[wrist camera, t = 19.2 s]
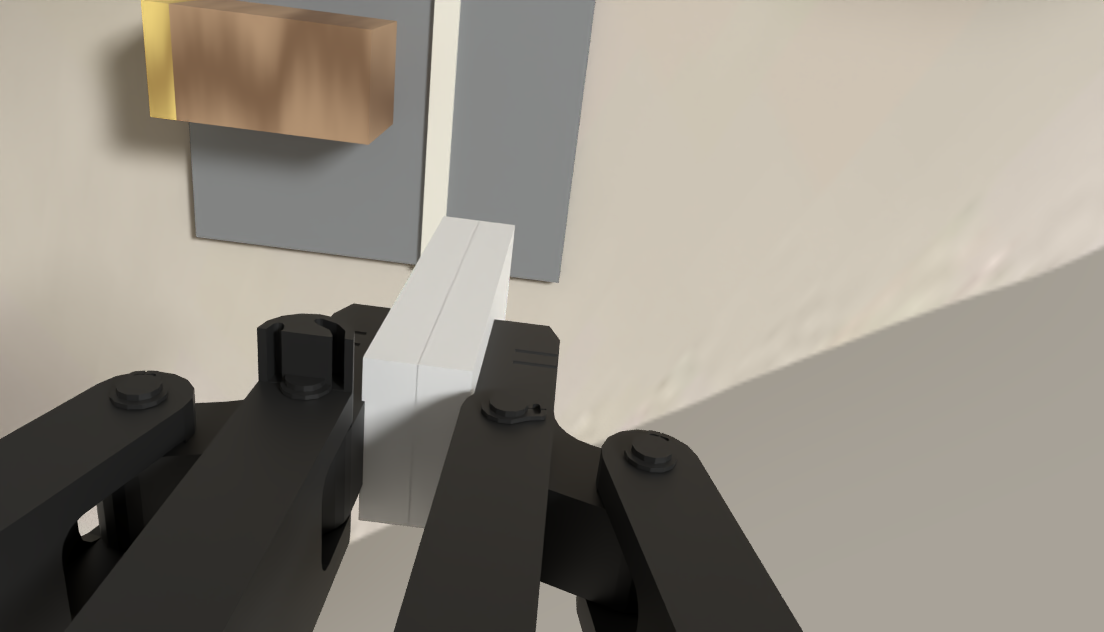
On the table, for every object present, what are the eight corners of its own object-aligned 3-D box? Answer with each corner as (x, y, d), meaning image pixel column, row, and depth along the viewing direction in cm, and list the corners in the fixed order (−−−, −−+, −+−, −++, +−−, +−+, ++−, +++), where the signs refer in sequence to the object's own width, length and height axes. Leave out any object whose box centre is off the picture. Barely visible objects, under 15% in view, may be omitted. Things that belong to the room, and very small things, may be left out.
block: (396, 21, 40) (192, -6, 40) (371, 29, 35) (140, -1, 35) (393, 124, 42) (198, 98, 42) (368, 144, 38) (150, 116, 37)
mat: (176, -183, 38) (166, -186, 37) (611, -127, 38) (611, -128, 37) (200, 233, 46) (193, 238, 45) (559, 279, 46) (558, 285, 45)
